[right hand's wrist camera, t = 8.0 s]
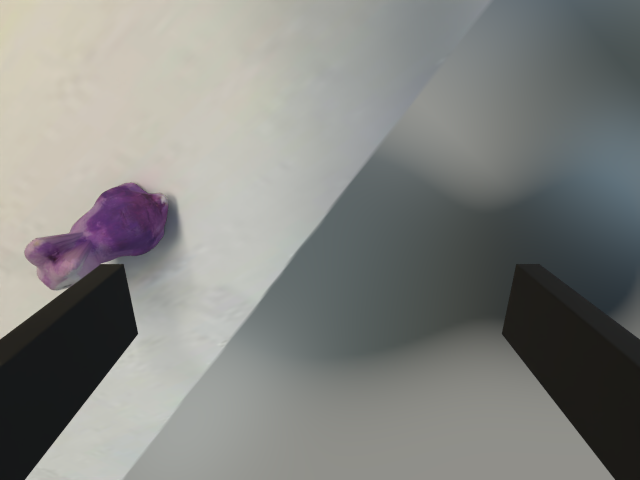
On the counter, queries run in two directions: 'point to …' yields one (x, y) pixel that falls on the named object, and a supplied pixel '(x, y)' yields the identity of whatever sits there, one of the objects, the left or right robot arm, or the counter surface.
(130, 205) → the figurine
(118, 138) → the counter surface
